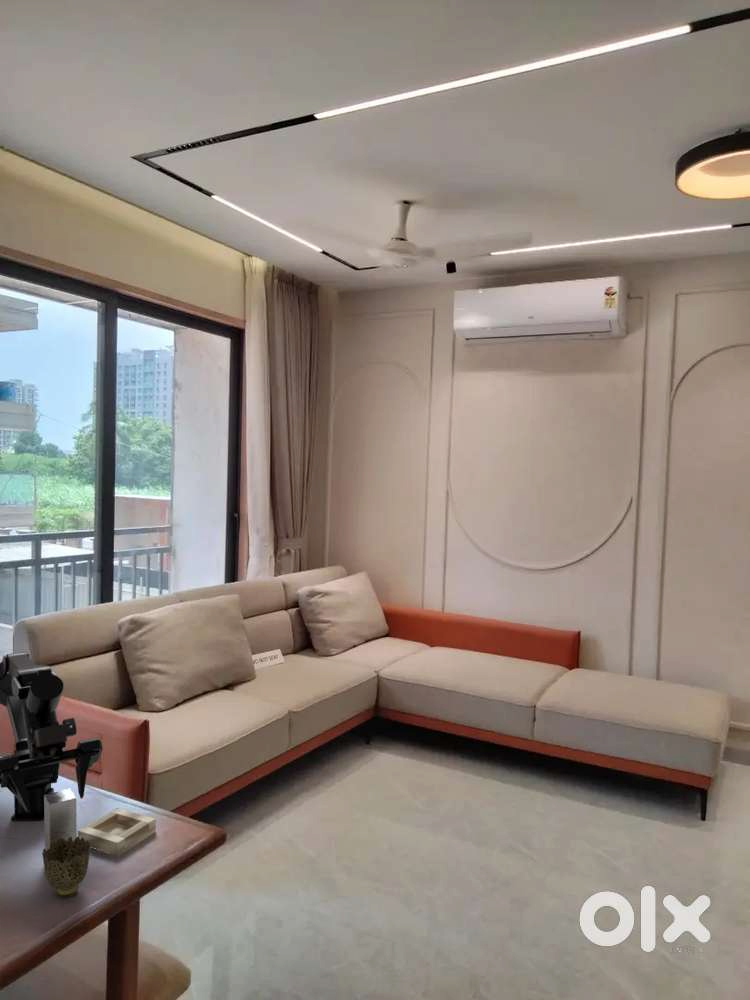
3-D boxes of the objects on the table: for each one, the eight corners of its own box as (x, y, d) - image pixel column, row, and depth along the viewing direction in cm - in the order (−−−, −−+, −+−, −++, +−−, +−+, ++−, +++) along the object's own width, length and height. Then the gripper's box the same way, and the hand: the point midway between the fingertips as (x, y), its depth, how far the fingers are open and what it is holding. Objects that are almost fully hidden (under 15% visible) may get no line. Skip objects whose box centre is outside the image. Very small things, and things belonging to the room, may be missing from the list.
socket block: (78, 845, 139) (77, 830, 139) (117, 822, 148) (117, 807, 148) (117, 858, 134) (117, 842, 134) (155, 833, 143) (155, 818, 143)
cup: (73, 909, 119) (72, 861, 118) (33, 903, 120) (32, 856, 120) (99, 883, 126) (99, 838, 125) (61, 878, 127) (60, 833, 127)
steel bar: (45, 865, 131) (44, 794, 130) (70, 857, 134) (70, 788, 133) (50, 876, 128) (49, 804, 127) (77, 868, 130) (76, 797, 130)
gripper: (-8, 715, 131) (3, 799, 123) (99, 696, 142) (117, 772, 133) (-14, 744, 138) (-4, 825, 129) (89, 724, 149) (105, 797, 140)
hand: (55, 804), depth 133 cm, fingers open, 9 cm apart
